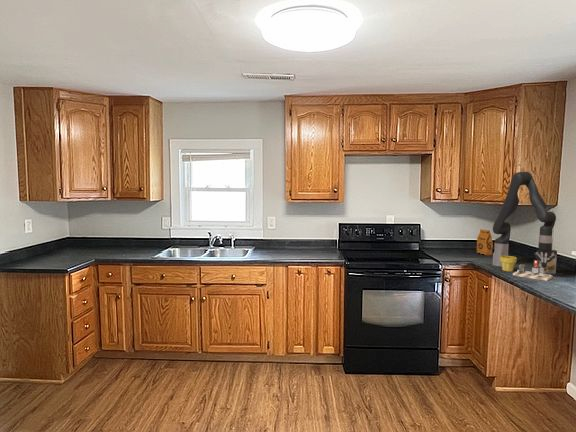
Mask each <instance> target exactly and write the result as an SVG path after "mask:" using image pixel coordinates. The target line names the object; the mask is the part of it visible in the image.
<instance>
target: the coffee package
mask: <svg viewBox="0 0 576 432" xmlns="http://www.w3.org/2000/svg"><path fill="white" fill-rule="evenodd" d="M476 237H477V238H476V253H477V254H479V253H480V254H479V255H482V254H484V256H493V249H494V245H493V237H492V234H491V231H490V230H489V229H487V230H486V229H479V233H478V235H477V236H476Z"/></svg>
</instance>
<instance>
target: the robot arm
mask: <svg viewBox="0 0 576 432" xmlns="http://www.w3.org/2000/svg"><path fill="white" fill-rule="evenodd" d="M521 186H525V187H526V188H527V190H528V192H529V193H528V194H529V196H528V197H529V202H530V204H531V205H532V208H534V210H535V215H536V217H537V219H538V221H540V222H541V223H543V225H541V226H540V227H539V236H538V249H537V250H536V252H534V253H533V256H535V258H536V260H538V261H541V267H542V268H546V267H547V262H550V261H552V260H553V259H554V258H555V257H556V255H554V254H553V252H552V250H553V241H554V239H553V233H554V232H553V229H554V227H555V225H556V222H557V215H556V214H555V212H554V211H546V209H547V206H548V205H547V203H546V202H545V200H544V199H543V198H542V195H541V194H540V192H539V189H538V187H537V184H536V183H535V180H534V177H533V175H532V174H531V173H530V172H529V171H518V172H515V173H513V175H512V176H511V180H510V183H509V188H508V189H507V190H508V191H507V193H506V196H505V198H504V201H503V203H502V205H501V209H500V211H499V214H498V215H497V217H496V219H495V221H494V223H493V225H492V232H493V234H495V235H500V236H499V237H497V238H495V239H494V246H493V249H494V252H492V266H495V267H501V268H502V264H501V261H500V256H509V243H510V237H511V228H512V227H511V223H509V222H508V221H506V220H507V219H508V218H509V217H511V216H512V214H514V213H515V212H516V211H517V209H518V207H519V203H520V198H519V193H518V192H519V189H520V187H521ZM538 254H539V255H540V256H541V258H540V257H539V256H538ZM550 255H551V258H550V259H549V260H548V257H549V256H550ZM544 259H545V260H544Z"/></svg>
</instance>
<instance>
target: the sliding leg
mask: <svg viewBox="0 0 576 432" xmlns="http://www.w3.org/2000/svg"><path fill="white" fill-rule="evenodd" d="M531 272H534V273H532V275H534V274H536V273H540V268H539V261H538V259H534V260H533V267H531Z"/></svg>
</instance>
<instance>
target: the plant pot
mask: <svg viewBox="0 0 576 432" xmlns="http://www.w3.org/2000/svg"><path fill="white" fill-rule="evenodd" d="M517 259H518V258H517V257H516V256H511V255H508V256H500V261H501V264H502V267H501V270H502V271H504V272H513V271H514V269H515V265H516V263H517V262H518V261H517Z"/></svg>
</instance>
